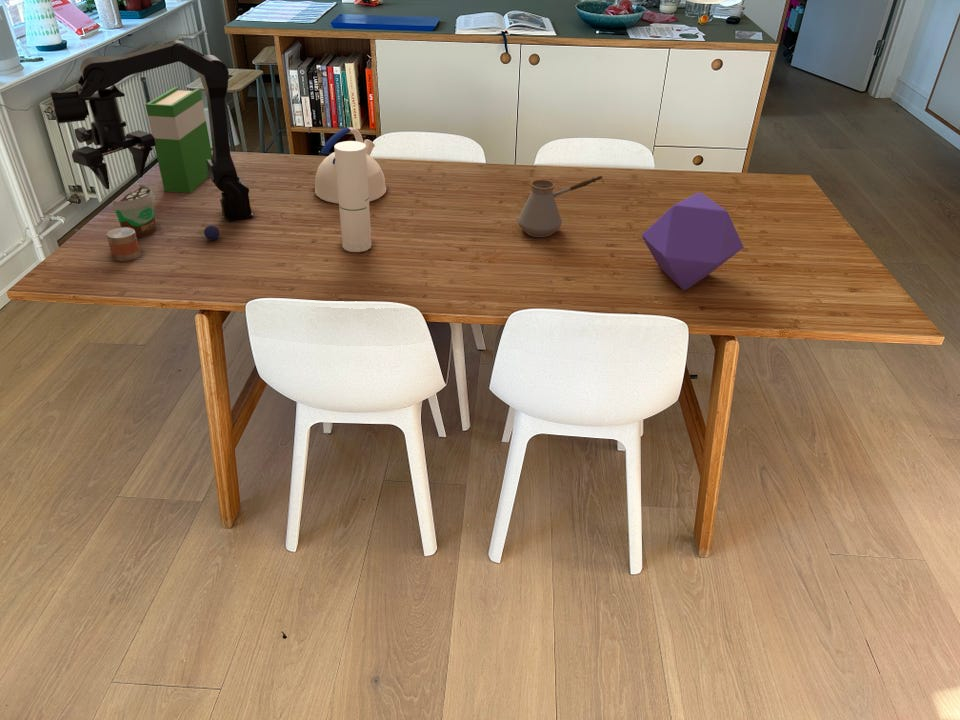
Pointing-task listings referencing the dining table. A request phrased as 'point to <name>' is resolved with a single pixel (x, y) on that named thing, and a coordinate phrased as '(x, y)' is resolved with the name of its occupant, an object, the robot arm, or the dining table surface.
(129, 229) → the tin can
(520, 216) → the coffee pot
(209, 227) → the blue ball
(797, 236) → the dining table surface
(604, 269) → the dining table surface
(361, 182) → the cylindrical container
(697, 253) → the purple faceted block
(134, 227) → the food container
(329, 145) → the kettle
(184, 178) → the hardback book
